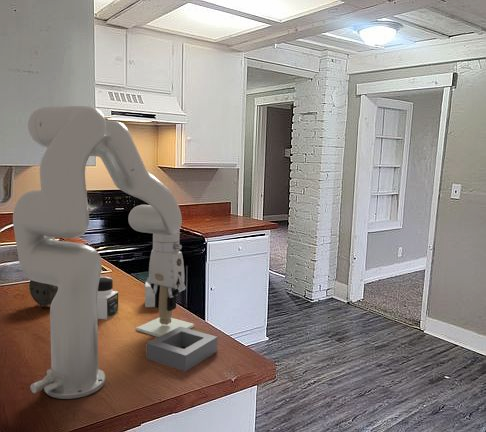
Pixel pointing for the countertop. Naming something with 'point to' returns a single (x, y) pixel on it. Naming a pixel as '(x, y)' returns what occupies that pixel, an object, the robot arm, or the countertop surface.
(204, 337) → the pocket holder
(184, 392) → the countertop surface
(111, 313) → the medicine bottle
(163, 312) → the handle
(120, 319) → the countertop surface
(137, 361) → the countertop surface
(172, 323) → the pad
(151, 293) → the product box
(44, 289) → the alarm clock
